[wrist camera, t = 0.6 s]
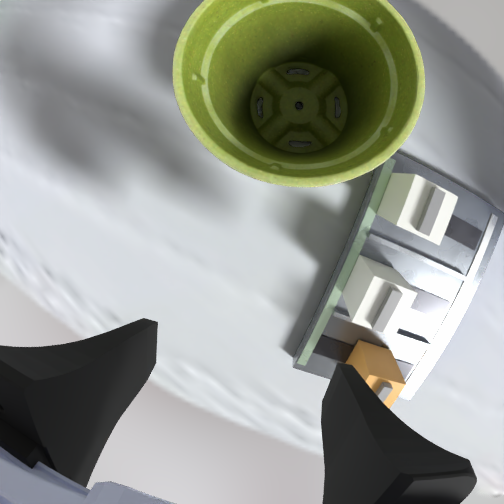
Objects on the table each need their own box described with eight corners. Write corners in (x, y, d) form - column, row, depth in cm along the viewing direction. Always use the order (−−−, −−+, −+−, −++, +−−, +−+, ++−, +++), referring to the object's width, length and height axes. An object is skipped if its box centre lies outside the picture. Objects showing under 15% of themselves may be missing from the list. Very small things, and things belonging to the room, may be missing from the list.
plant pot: (220, 45, 17) (174, -21, 9) (366, 40, 16) (402, -28, 8) (226, 183, 20) (176, 193, 11) (377, 180, 18) (434, 189, 10)
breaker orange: (391, 350, 20) (408, 389, 15) (372, 379, 20) (385, 421, 16) (358, 339, 20) (371, 380, 15) (341, 370, 20) (348, 412, 16)
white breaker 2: (428, 190, 17) (462, 197, 12) (412, 230, 17) (443, 248, 13) (391, 172, 17) (419, 174, 13) (376, 213, 18) (399, 227, 13)
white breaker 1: (395, 269, 18) (420, 296, 14) (378, 306, 19) (396, 341, 15) (359, 254, 18) (376, 279, 14) (341, 293, 19) (353, 326, 15)
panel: (498, 212, 17) (511, 216, 16) (405, 391, 22) (411, 405, 20) (382, 149, 18) (390, 147, 16) (293, 358, 22) (292, 372, 20)
